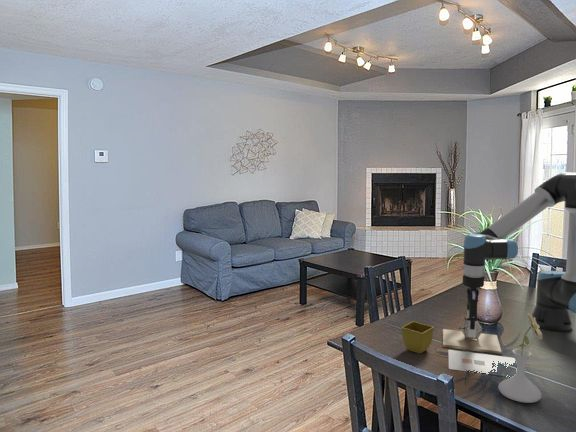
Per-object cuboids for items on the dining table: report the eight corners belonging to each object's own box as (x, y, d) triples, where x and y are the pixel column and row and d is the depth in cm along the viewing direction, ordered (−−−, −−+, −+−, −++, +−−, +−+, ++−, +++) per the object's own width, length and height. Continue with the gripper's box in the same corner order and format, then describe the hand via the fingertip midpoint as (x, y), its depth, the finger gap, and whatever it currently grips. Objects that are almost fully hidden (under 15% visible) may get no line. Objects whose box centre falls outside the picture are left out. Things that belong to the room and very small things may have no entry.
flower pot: (400, 350, 163) (400, 326, 162) (412, 343, 169) (413, 320, 168) (421, 357, 157) (422, 333, 156) (433, 350, 163) (434, 326, 162)
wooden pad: (496, 337, 174) (496, 335, 174) (501, 354, 159) (501, 351, 159) (442, 331, 181) (443, 329, 181) (442, 346, 166) (442, 344, 166)
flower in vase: (529, 411, 123) (535, 325, 120) (490, 394, 132) (494, 314, 129) (551, 396, 131) (556, 315, 127) (512, 381, 140) (517, 305, 137)
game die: (471, 346, 172) (484, 325, 173) (479, 347, 164) (493, 325, 165) (451, 332, 174) (464, 311, 175) (457, 333, 165) (472, 311, 167)
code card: (514, 358, 156) (514, 357, 156) (521, 379, 141) (522, 378, 141) (448, 349, 163) (448, 349, 163) (448, 368, 148) (448, 368, 148)
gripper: (461, 267, 178) (459, 320, 181) (464, 282, 157) (461, 341, 160) (481, 268, 176) (479, 322, 179) (486, 283, 155) (483, 344, 158)
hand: (470, 331), depth 169 cm, fingers open, 10 cm apart
